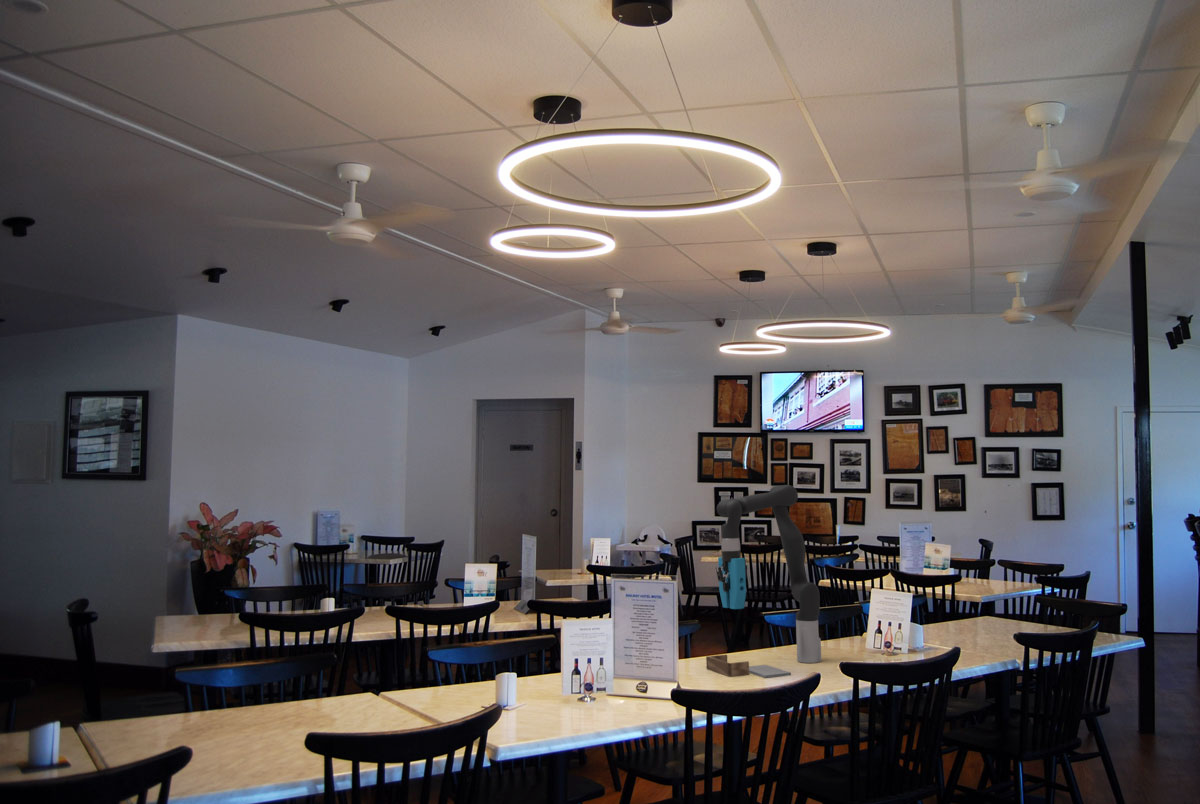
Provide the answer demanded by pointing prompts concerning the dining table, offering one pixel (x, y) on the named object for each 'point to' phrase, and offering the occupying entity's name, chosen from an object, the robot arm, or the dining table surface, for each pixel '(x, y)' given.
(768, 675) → the slate pad
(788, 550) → the robot arm
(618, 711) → the dining table surface
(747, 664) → the walnut stall
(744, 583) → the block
